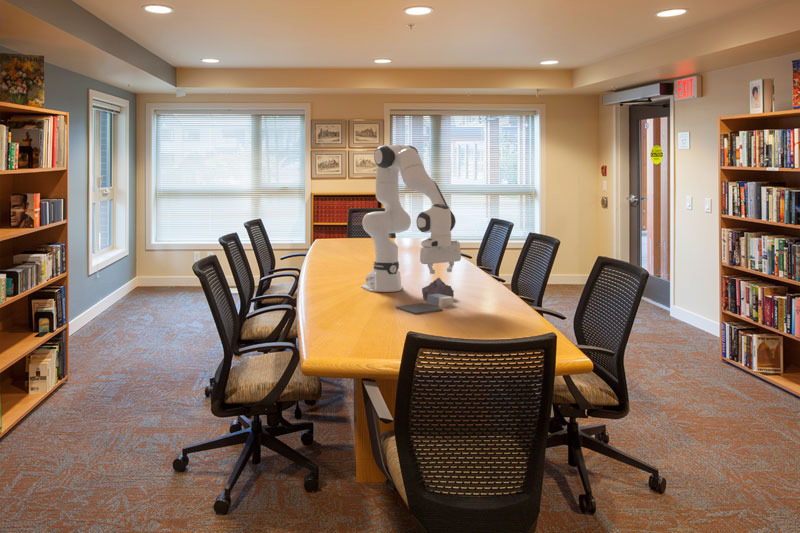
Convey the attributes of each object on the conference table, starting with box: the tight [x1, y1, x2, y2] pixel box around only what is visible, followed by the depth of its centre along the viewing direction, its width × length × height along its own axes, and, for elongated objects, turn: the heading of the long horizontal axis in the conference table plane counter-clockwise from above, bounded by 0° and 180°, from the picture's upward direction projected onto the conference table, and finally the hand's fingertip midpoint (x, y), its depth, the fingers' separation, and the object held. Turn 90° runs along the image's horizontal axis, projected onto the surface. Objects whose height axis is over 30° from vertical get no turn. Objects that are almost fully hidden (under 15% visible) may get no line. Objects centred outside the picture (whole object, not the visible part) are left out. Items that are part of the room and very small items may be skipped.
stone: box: [421, 276, 455, 301], centre depth 314 cm, size 10×6×15 cm
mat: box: [395, 302, 443, 315], centre depth 292 cm, size 15×14×1 cm
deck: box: [426, 294, 454, 309], centre depth 302 cm, size 11×6×4 cm, turn 34°
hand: (440, 272), depth 300 cm, fingers open, 8 cm apart
